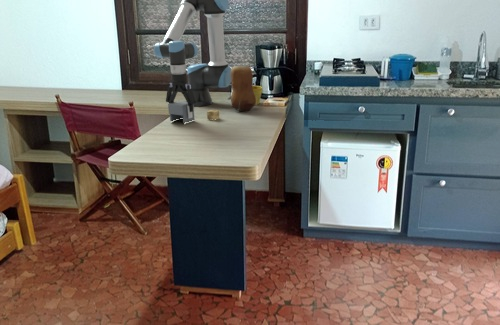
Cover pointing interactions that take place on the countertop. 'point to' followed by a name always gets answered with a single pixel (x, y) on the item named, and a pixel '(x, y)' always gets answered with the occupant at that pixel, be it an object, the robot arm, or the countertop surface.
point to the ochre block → (213, 114)
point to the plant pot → (257, 93)
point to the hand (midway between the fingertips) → (181, 116)
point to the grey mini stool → (179, 111)
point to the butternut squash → (242, 88)
